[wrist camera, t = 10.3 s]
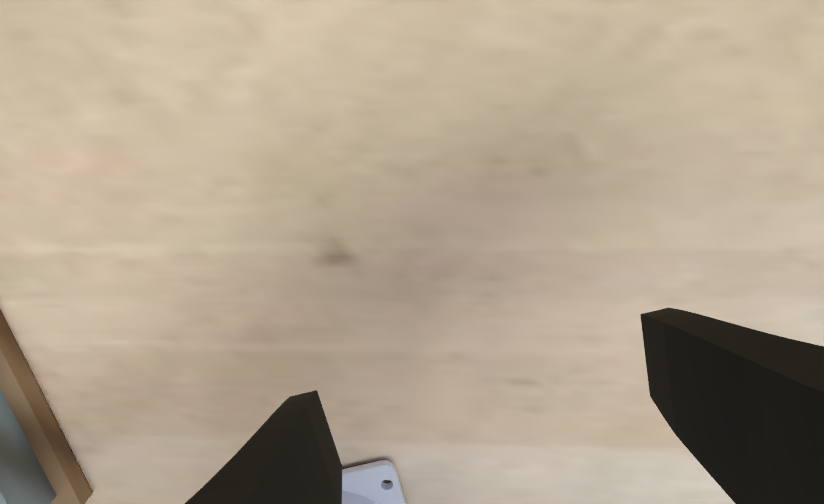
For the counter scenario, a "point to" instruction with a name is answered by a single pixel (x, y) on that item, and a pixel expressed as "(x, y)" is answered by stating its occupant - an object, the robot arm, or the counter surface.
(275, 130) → the counter surface
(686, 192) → the counter surface
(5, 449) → the tray
